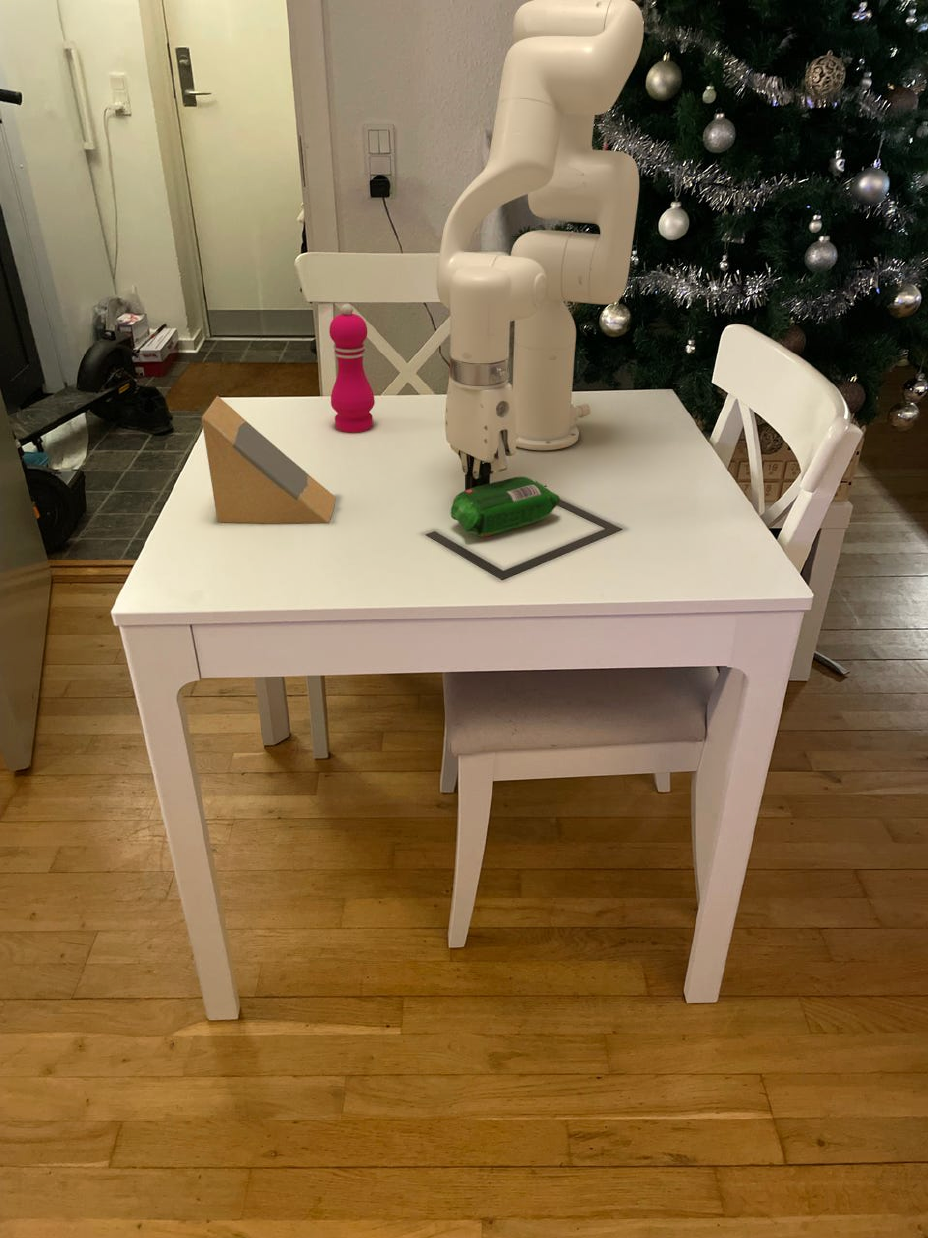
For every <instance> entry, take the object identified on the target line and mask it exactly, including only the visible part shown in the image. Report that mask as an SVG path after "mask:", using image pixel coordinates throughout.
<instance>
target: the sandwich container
mask: <svg viewBox="0 0 928 1238" xmlns="http://www.w3.org/2000/svg"><path fill="white" fill-rule="evenodd" d="M201 424H202V425H201V426H202V431H203V436H204V443H205V450H206V457H207V463H208V464H207V465H208V469H209V478H210V483H211V489H212V494H213V501H214V507H215V509H214V510H215V515H216V521H217V522H218V523H239V524H240V523H241V524H242V523H244V524H246V523H247V524H329V523H330V521H331V518H332V515H333V514H334V510H335V504H336V499H337V498H336V496H335V495H334V494H333V493H332V492H330V491H329V490H328V489H327V488H326V487H324V486H323V485H322V484H321V483H320V482H318V481H317V480H316V479H315V478H314V477H313V476H311V475H310V474H309V473H308V472H306V471H305V470H304V469H303V468H302V467H300V466H299V464H297V463H296V462H295V461H293V460H292V459H291V458H290V457H289V456H287V455H286V454H285V453H284V451H283V452H282V450H280V448H278V447H277V446H276V445H275V444H273V443H272V442H271V441H270V440H269V439H268V438H266V436H264V435H263V434H262V433H260V432H259V431H258V430H257V429H256V428H255V427H254V426H253V425H251V423H249V422H248V421H247V420H246V419H245V418H243V416H241V415H240V413H238V412H237V411H236V410H234V408H232V406H230V405H229V404H228V403H227V402H226V401H225V400H223V398H221V397H220V396H219V395H216V397H215V398H214V399H213V401H212V402H211V404H210V405H209V407H208V408H207V409H206V410H205V412H204V413H203V414H202V416H201Z"/></svg>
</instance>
